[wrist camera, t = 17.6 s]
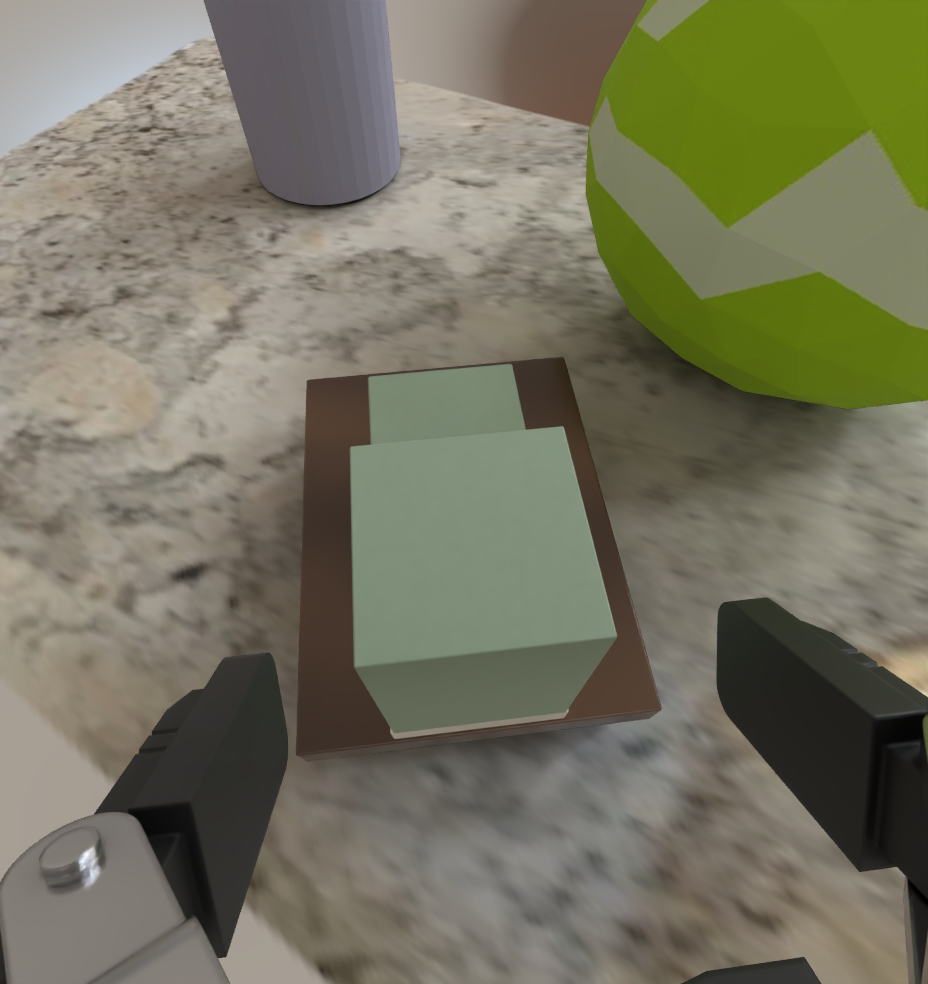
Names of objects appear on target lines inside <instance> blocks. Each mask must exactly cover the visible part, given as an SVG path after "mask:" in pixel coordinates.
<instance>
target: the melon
mask: <svg viewBox="0 0 928 984" xmlns="http://www.w3.org/2000/svg"><path fill="white" fill-rule="evenodd" d="M586 197H587V201H588V206H589V211H590V215H591V220H592V225H593V229H594V234H595V239H596V243H597V248H598V252H599V254H600V256H601V258H602V260H603V262H604V264H605V266H606V268H607V270H608V272H609V274H610V276H611V278H612V280H613V282H614V284H615V286H616V288H617V290H618V292H619V293H620V295H621V297H622V299H623V301H624V302H625V304H626V306H627V308H628V310H629V311H630V313H631V315H632V316H633V317H634V318H635V319H636V320H638V321H639V322H640V323H641V324H642V325H643V326H645V327H646V328H647V329H648V330H649V331H651V332H652V333H653V334H654V335H655V336H657V337H658V338H659V339H660V340H661V341H662V342H664V343H665V344H666V345H667V346H668V347H670V348H671V349H672V350H673V351H674V352H676V353H677V354H678V355H679V356H680V357H681V358H683V359H685V360H687V361H688V362H690V363H692V364H694V365H696V366H697V367H699V368H701V369H703V370H705V371H706V372H708V373H710V374H712V375H714V376H716V377H717V378H719V379H721V380H723V381H725V382H726V383H728V384H730V385H732V386H734V387H735V388H737V389H739V390H741V391H745V392H751V393H757V394H762V395H768V396H774V397H780V398H786V399H791V400H797V401H803V402H809V403H815V404H820V405H826V406H832V407H838V408H844V409H856V408H865V407H873V406H882V405H891V404H899V403H908V402H917V401H926V400H928V0H647V1H646V3H645V5H644V7H643V9H642V10H641V12H640V14H639V16H638V18H637V20H636V21H635V23H634V25H633V27H632V29H631V30H630V32H629V34H628V36H627V38H626V40H625V41H624V43H623V45H622V47H621V49H620V51H619V53H618V54H617V56H616V58H615V60H614V62H613V63H612V65H611V67H610V69H609V71H608V73H607V74H606V76H605V78H604V80H603V83H602V87H601V90H600V94H599V97H598V101H597V105H596V108H595V112H594V115H593V119H592V122H591V126H590V129H589V134H588V149H587V171H586Z"/></svg>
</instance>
